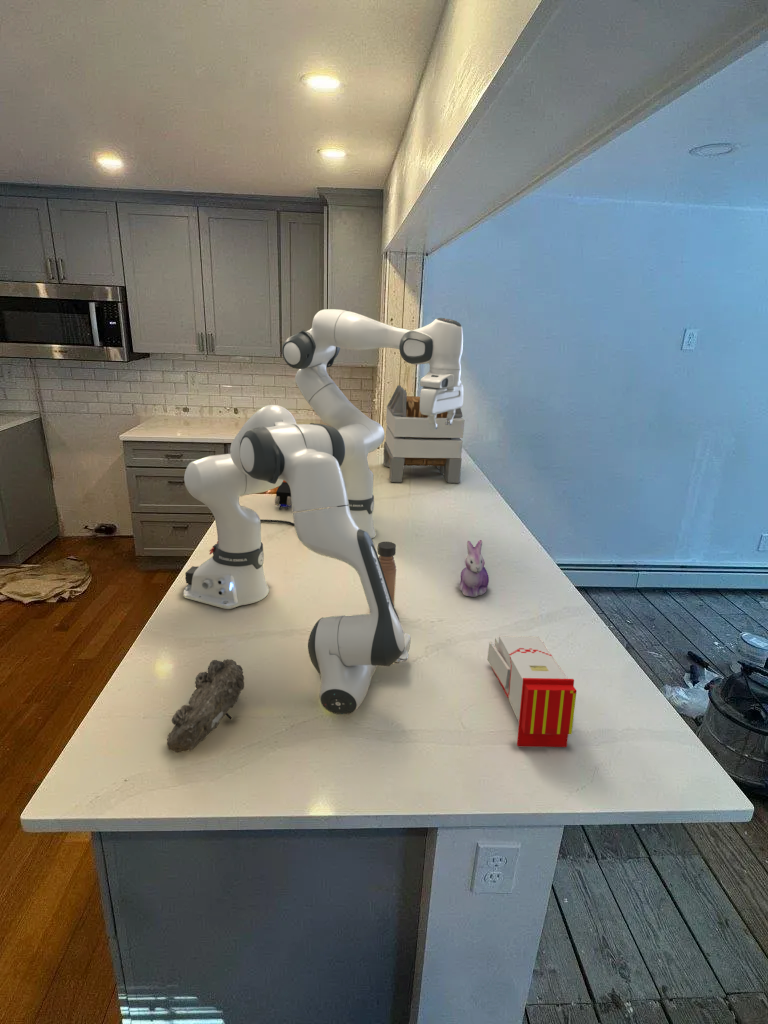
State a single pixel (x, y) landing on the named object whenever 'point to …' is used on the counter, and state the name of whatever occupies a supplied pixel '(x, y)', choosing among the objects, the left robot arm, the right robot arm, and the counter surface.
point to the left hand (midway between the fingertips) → (371, 622)
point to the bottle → (389, 574)
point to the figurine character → (283, 495)
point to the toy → (534, 690)
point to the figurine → (474, 572)
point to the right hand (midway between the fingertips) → (440, 427)
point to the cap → (386, 549)
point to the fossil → (206, 705)
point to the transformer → (421, 439)
